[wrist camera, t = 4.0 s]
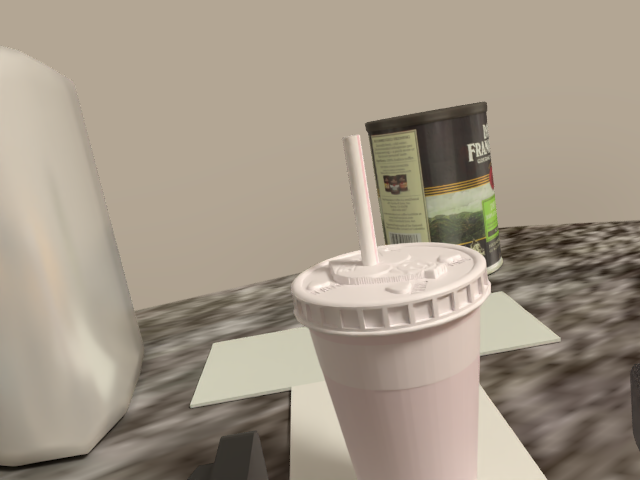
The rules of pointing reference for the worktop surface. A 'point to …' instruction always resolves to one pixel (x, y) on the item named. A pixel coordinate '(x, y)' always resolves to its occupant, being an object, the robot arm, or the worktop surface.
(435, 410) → the smoothie
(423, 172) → the coffee can
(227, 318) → the worktop surface
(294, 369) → the t mat
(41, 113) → the white canister
